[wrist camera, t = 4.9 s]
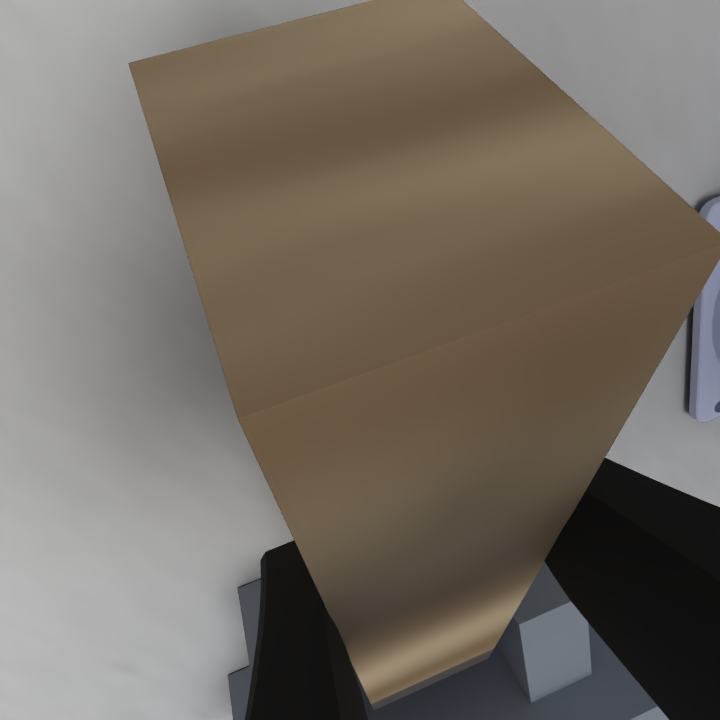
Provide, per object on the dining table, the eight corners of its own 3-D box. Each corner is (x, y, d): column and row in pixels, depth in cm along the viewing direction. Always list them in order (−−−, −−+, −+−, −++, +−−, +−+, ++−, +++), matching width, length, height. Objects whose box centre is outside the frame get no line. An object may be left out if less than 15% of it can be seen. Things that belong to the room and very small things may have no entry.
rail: (127, 62, 6) (237, 418, 4) (443, -18, 7) (730, 241, 4) (321, 558, 19) (373, 710, 17) (422, 516, 20) (488, 658, 17)
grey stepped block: (534, 468, 21) (676, 615, 15) (546, 578, 23) (671, 738, 18) (190, 607, 19) (205, 836, 13) (246, 709, 21) (278, 937, 16)
